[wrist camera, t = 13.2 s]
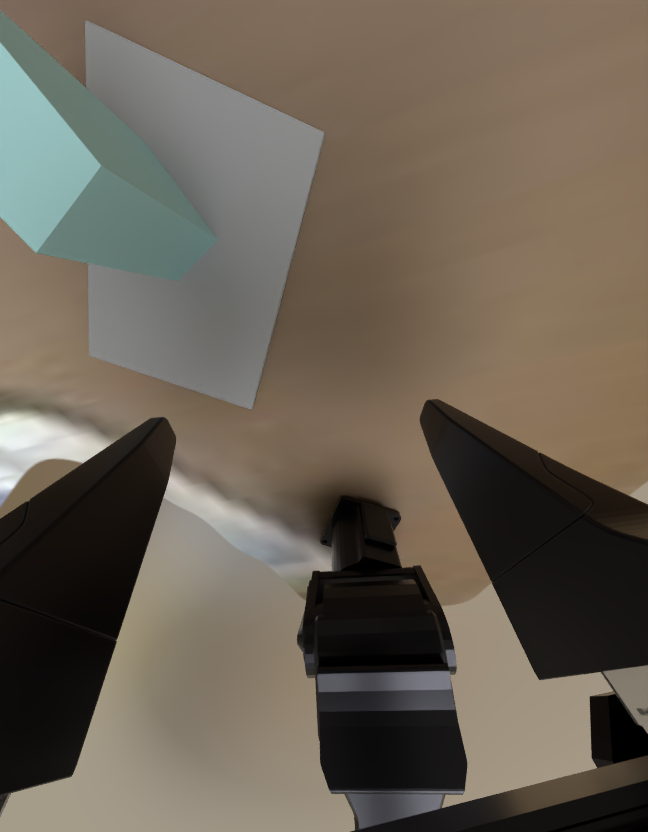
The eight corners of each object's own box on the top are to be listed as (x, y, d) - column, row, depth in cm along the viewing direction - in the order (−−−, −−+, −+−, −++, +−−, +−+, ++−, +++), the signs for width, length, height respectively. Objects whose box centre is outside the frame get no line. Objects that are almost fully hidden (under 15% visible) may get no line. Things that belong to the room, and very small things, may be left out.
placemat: (252, 408, 21) (251, 409, 21) (93, 355, 20) (89, 355, 19) (324, 136, 15) (324, 132, 14) (92, 27, 13) (85, 19, 13)
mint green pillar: (177, 281, 17) (36, 253, 9) (103, 193, 16) (-159, 56, 7) (218, 239, 16) (101, 165, 8) (143, 141, 15) (-106, -87, 6)
